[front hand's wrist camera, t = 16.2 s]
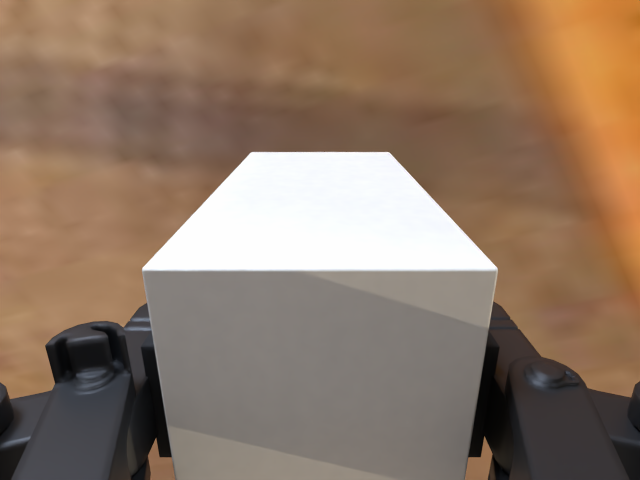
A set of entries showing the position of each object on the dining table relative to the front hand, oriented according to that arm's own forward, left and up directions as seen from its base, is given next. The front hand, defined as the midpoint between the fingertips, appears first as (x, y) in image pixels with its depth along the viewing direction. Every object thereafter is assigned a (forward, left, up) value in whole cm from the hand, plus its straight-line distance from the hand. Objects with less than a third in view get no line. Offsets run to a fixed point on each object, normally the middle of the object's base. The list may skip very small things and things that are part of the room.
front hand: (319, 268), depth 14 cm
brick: (0, 0, -3) cm, 3 cm away
